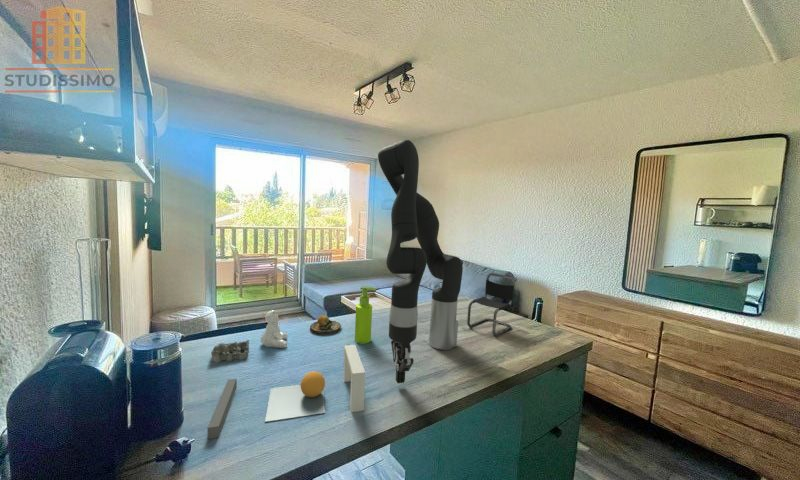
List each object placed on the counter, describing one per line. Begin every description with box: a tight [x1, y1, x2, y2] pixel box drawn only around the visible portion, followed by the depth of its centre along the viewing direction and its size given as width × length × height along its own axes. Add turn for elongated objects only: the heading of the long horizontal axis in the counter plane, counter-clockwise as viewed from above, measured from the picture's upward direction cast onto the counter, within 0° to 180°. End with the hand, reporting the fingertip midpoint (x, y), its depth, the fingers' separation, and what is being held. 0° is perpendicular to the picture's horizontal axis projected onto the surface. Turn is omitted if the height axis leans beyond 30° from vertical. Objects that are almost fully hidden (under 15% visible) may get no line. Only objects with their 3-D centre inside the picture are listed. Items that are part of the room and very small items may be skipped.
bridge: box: [342, 344, 366, 413], centre depth 80 cm, size 3×15×10 cm, turn 18°
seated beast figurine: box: [260, 309, 288, 349], centre depth 105 cm, size 10×9×12 cm
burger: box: [309, 314, 342, 336], centre depth 120 cm, size 12×12×8 cm
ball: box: [300, 370, 326, 397], centre depth 78 cm, size 6×6×6 cm
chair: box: [466, 272, 518, 337], centre depth 130 cm, size 13×17×22 cm
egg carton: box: [210, 340, 250, 363], centre depth 96 cm, size 10×7×4 cm
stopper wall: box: [207, 378, 238, 440], centre depth 71 cm, size 2×18×2 cm, turn 18°
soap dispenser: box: [354, 286, 377, 345], centre depth 111 cm, size 6×7×20 cm
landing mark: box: [264, 384, 326, 423], centre depth 76 cm, size 13×13×1 cm
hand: (400, 381), depth 84 cm, fingers closed
